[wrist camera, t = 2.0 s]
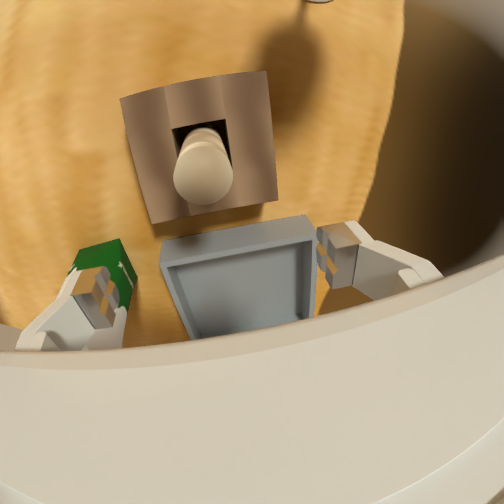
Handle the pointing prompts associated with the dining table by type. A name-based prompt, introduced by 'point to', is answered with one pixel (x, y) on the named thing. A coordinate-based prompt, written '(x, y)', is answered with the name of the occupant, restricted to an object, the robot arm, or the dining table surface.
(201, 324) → the tray
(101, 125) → the dining table surface
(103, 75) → the dining table surface
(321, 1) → the wineglass
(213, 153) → the dowel
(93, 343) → the milk carton
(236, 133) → the socket block
